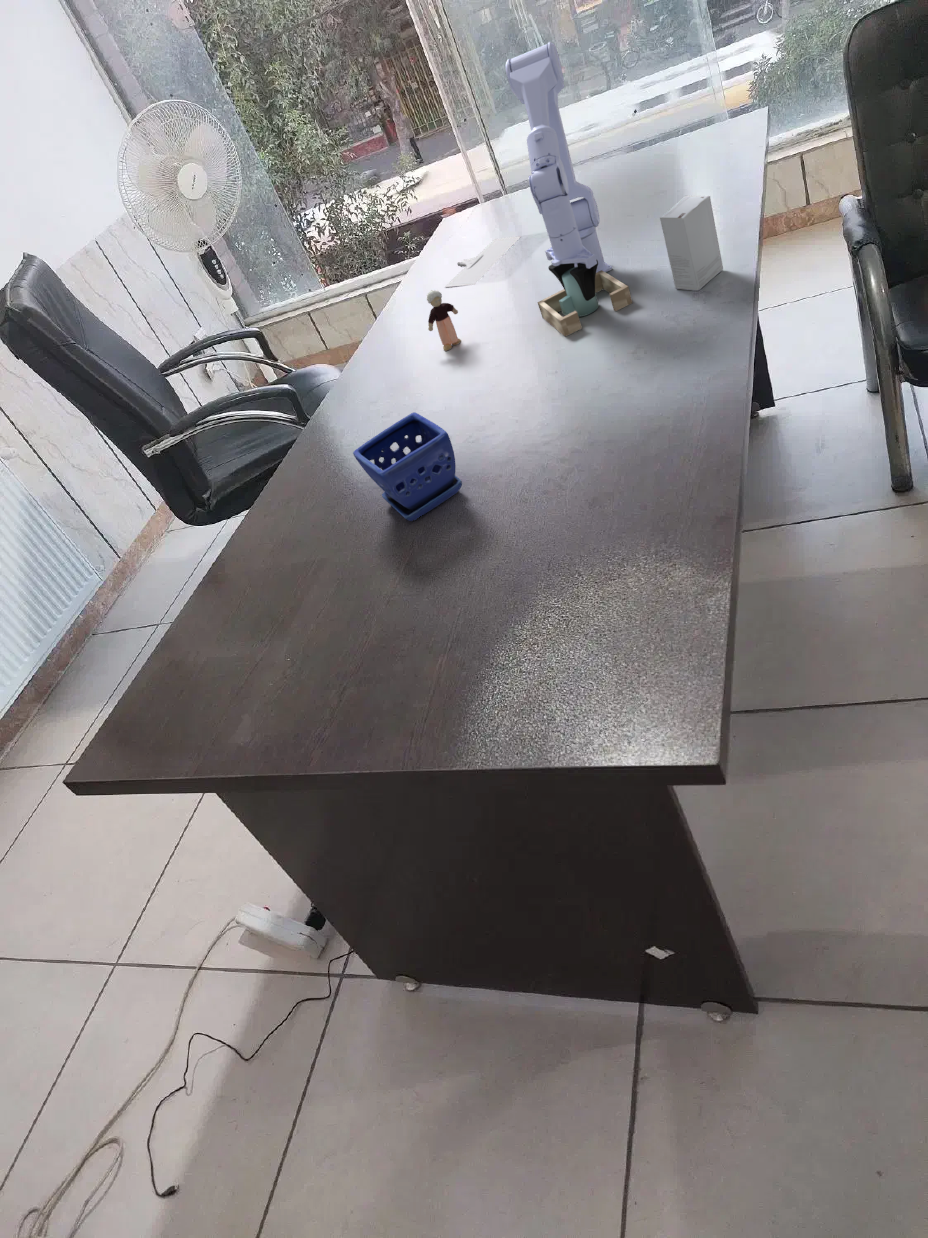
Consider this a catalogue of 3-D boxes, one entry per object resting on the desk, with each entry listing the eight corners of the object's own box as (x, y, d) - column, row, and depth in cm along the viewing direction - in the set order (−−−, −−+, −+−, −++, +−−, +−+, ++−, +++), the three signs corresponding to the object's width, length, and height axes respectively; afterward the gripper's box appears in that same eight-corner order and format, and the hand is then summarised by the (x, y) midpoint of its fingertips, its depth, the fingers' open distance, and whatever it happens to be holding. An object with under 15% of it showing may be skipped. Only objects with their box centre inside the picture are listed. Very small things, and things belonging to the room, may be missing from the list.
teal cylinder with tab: (559, 319, 179) (547, 282, 174) (588, 300, 180) (577, 263, 176) (574, 323, 175) (562, 286, 170) (604, 304, 176) (593, 267, 171)
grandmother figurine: (447, 354, 188) (424, 299, 180) (436, 352, 191) (413, 299, 183) (471, 335, 191) (450, 280, 183) (460, 333, 193) (438, 280, 186)
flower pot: (409, 533, 142) (379, 475, 134) (379, 505, 152) (349, 449, 145) (475, 490, 144) (449, 430, 136) (441, 465, 154) (414, 408, 147)
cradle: (542, 317, 183) (537, 302, 181) (605, 285, 183) (601, 269, 181) (565, 336, 173) (560, 320, 171) (632, 302, 173) (628, 286, 170)
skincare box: (700, 268, 172) (685, 193, 163) (725, 269, 168) (711, 193, 159) (674, 290, 170) (657, 215, 161) (698, 292, 165) (682, 215, 156)
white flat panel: (483, 242, 233) (482, 238, 232) (557, 234, 219) (555, 229, 218) (433, 290, 221) (431, 285, 220) (507, 284, 207) (505, 279, 206)
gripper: (526, 237, 173) (546, 300, 181) (567, 244, 161) (587, 311, 170) (554, 219, 174) (573, 283, 182) (597, 225, 163) (615, 293, 171)
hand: (581, 295), depth 176 cm, fingers closed on teal cylinder with tab, 5 cm apart
